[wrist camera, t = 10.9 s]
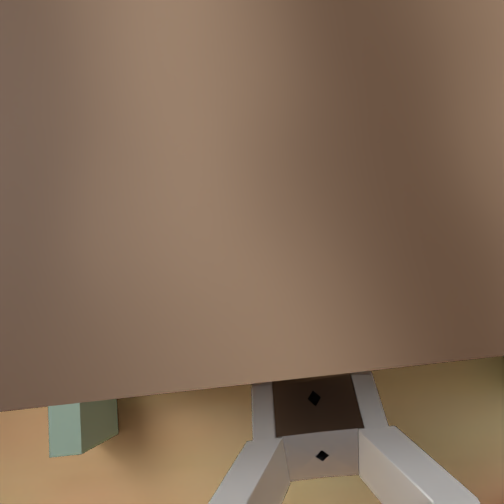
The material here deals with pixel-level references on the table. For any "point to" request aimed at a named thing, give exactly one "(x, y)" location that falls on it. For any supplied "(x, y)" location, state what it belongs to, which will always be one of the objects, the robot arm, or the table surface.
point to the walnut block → (245, 192)
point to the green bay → (81, 426)
